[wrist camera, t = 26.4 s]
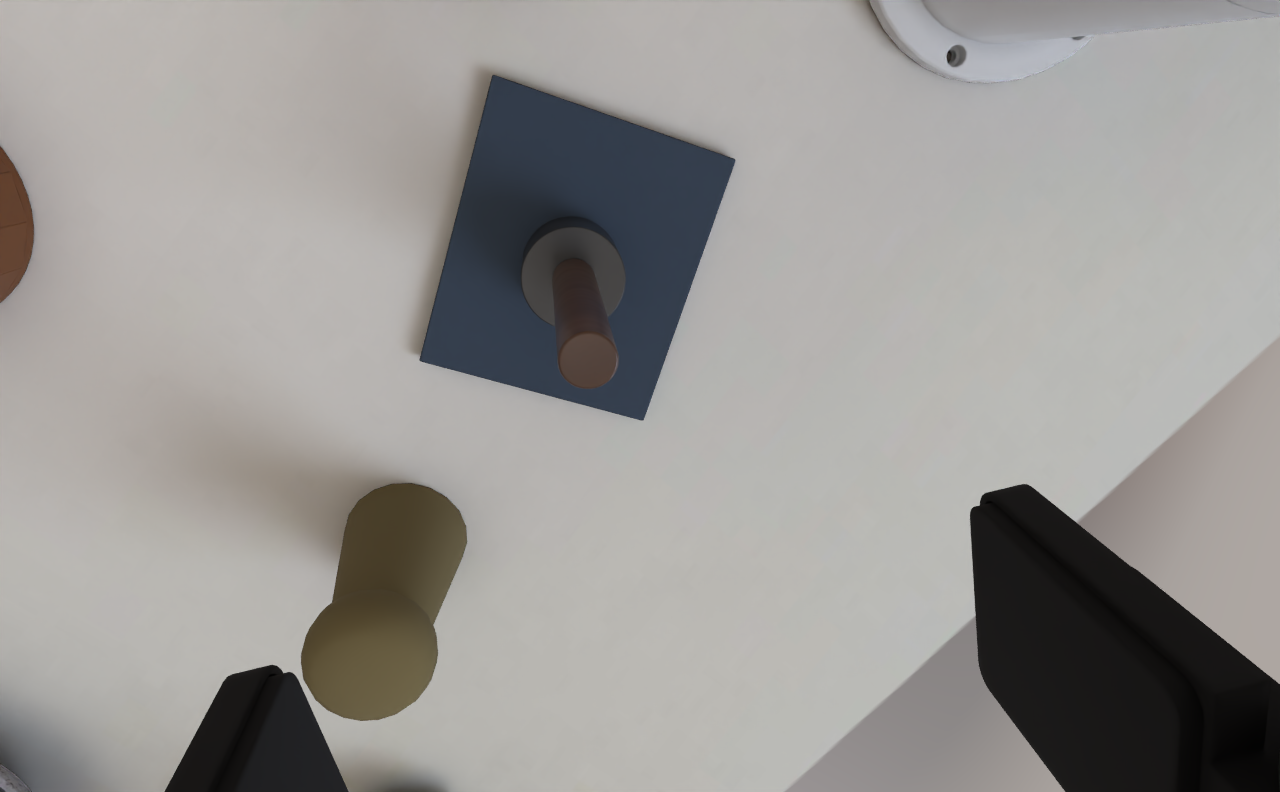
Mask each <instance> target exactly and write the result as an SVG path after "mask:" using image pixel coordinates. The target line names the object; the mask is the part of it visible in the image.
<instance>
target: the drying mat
mask: <svg viewBox="0 0 1280 792" xmlns="http://www.w3.org/2000/svg"><path fill="white" fill-rule="evenodd" d="M734 163H735V159H733V158H730V157H727V156H724V155H722V154H719V153H716V152H713V151H710V150H707V149H704V148H701V147H699V146H696V145H693V144H690V143H687V142H684V141H681V140H679V139H676V138H673V137H670V136H667V135H664V134H661V133H659V132H656V131H653V130H650V129H647V128H644V127H641V126H639V125H636V124H633V123H630V122H627V121H624V120H621V119H619V118H616V117H613V116H610V115H607V114H604V113H601V112H599V111H596V110H593V109H590V108H587V107H584V106H581V105H579V104H576V103H573V102H570V101H567V100H564V99H561V98H558V97H556V96H553V95H550V94H547V93H544V92H541V91H538V90H536V89H533V88H530V87H527V86H524V85H521V84H518V83H516V82H513V81H510V80H507V79H504V78H501V77H498V76H496V75H493V76H492V79H491V83H490V87H489V91H488V95H487V98H486V102H485V106H484V110H483V114H482V118H481V122H480V126H479V130H478V134H477V137H476V141H475V145H474V149H473V153H472V157H471V161H470V165H469V169H468V173H467V177H466V180H465V184H464V188H463V192H462V196H461V200H460V204H459V208H458V212H457V216H456V220H455V223H454V227H453V231H452V235H451V239H450V243H449V247H448V251H447V255H446V259H445V263H444V266H443V270H442V274H441V278H440V282H439V286H438V290H437V294H436V298H435V302H434V306H433V309H432V313H431V317H430V321H429V325H428V329H427V333H426V337H425V341H424V345H423V349H422V352H421V356H420V361H422V362H425V363H429V364H433V365H436V366H440V367H444V368H448V369H451V370H455V371H459V372H463V373H466V374H470V375H474V376H478V377H481V378H485V379H489V380H492V381H496V382H500V383H504V384H507V385H511V386H515V387H519V388H522V389H526V390H530V391H534V392H537V393H541V394H545V395H548V396H552V397H556V398H560V399H563V400H567V401H571V402H575V403H578V404H582V405H586V406H590V407H593V408H597V409H601V410H605V411H608V412H612V413H616V414H619V415H623V416H627V417H631V418H634V419H638V420H644V417H645V414H646V412H647V409H648V406H649V403H650V400H651V398H652V395H653V392H654V389H655V386H656V383H657V381H658V378H659V375H660V372H661V369H662V366H663V364H664V361H665V358H666V355H667V352H668V350H669V347H670V344H671V341H672V338H673V335H674V333H675V330H676V327H677V324H678V321H679V319H680V316H681V313H682V310H683V307H684V304H685V302H686V299H687V296H688V293H689V290H690V288H691V285H692V282H693V279H694V276H695V273H696V271H697V268H698V265H699V262H700V259H701V257H702V254H703V251H704V248H705V245H706V242H707V240H708V237H709V234H710V231H711V228H712V226H713V223H714V220H715V217H716V214H717V211H718V209H719V206H720V203H721V200H722V197H723V194H724V192H725V189H726V186H727V183H728V180H729V178H730V175H731V172H732V169H733V166H734ZM568 216H574V217H581V218H585V219H588V220H590V221H592V222H594V223H596V224H598V225H599V226H600V227H602V228H603V229H604V230H605V231H606V232H607V233H608V234H609V236H610V237H611V238H612V240H613V242H614V243H615V245H616V247H617V249H618V251H619V254H620V256H621V258H622V260H623V263H624V267H625V273H626V284H625V290H624V294H623V297H622V299H621V301H620V303H619V305H618V307H617V308H616V309H615V311H614V312H613V313H612V314H611V315H610V316H609V317H608V321H609V324H610V328H611V331H612V335H613V338H614V341H615V345H616V348H617V351H618V356H619V363H618V368H617V370H616V372H615V374H614V376H613V377H612V378H611V379H610V380H609V381H608V382H607V383H606V384H604V385H602V386H600V387H597V388H593V389H582V388H578V387H575V386H573V385H571V384H570V383H568V382H567V381H566V380H565V379H564V378H563V376H562V375H561V373H560V371H559V368H558V362H557V347H556V332H555V327H554V326H552V325H550V324H548V323H546V322H544V321H543V320H542V319H540V318H539V317H538V316H537V315H536V314H535V313H534V312H533V311H532V310H531V308H530V307H529V305H528V304H527V302H526V300H525V298H524V295H523V292H522V287H521V267H522V257H523V253H524V249H525V247H526V244H527V242H528V240H529V239H530V237H531V236H532V235H533V233H534V232H535V231H536V230H537V229H538V228H540V227H541V226H542V225H544V224H545V223H547V222H549V221H551V220H553V219H557V218H560V217H568Z"/></svg>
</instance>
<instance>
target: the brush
mask: <svg viewBox="0 0 1280 792" xmlns="http://www.w3.org/2000/svg"><path fill="white" fill-rule="evenodd" d="M625 284H626V273H625V267H624V263H623V260H622V258H621V256H620V254H619V251H618V249H617V247H616V245H615V243H614V242H613V240H612V238H611V237H610V236H609V234H608V233H607V232H606V231H605V230H604V229H603V228H602V227H600V226H599V225H598V224H596V223H594V222H592V221H590V220H588V219H585V218H581V217H574V216H568V217H560V218H557V219H553V220H551V221H549V222H547V223H545V224H544V225H542V226H541V227H540V228H538V229H537V230H536V231H535V232H534V233H533V235H532V236H531V237H530V239H529V240H528V242H527V244H526V247H525V249H524V253H523V257H522V267H521V287H522V292H523V295H524V298H525V300H526V302H527V304H528V305H529V307H530V308H531V310H532V311H533V312H534V313H535V314H536V315H537V316H538V317H539V318H540V319H542V320H543V321H544V322H546V323H548V324H550V325H552V326H554V327H555V332H556V347H557V362H558V368H559V371H560V373H561V375H562V376H563V378H564V379H565V380H566V381H567V382H568V383H570V384H571V385H573V386H575V387H578V388H582V389H593V388H597V387H600V386H602V385H604V384H606V383H607V382H608V381H609V380H610V379H611V378H612V377H613V376H614V374H615V372H616V370H617V368H618V363H619V356H618V351H617V348H616V345H615V341H614V338H613V335H612V331H611V328H610V324H609V321H608V317H609V316H610V315H611V314H612V313H613V312H614V311H615V309H616V308H617V307H618V305H619V303H620V301H621V299H622V297H623V294H624V290H625Z"/></svg>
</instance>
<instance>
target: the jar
mask: <svg viewBox="0 0 1280 792" xmlns="http://www.w3.org/2000/svg"><path fill="white" fill-rule="evenodd" d="M33 236H34V225H33V217H32V210H31V206H30V203H29V199H28V195H27V193H26V190H25V188H24V185H23V183H22V180H21V178H20V176H19V174H18V173H17V171H16V169H15V167H14V165H13V163H12V162H11V161H10V159H9V158H8V156H7V155H6V153H5V152H4V151H3V149H2V148H1V147H0V302H2V301H3V300H4V299H5V298H6V297H7V296H8V295H9V294H10V293H11V292H12V291H13V290H14V288H15V287H16V286H17V285H18V283H19V282H20V280H21V278H22V277H23V275H24V273H25V271H26V269H27V266H28V263H29V260H30V257H31V253H32V247H33Z"/></svg>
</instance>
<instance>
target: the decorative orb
mask: <svg viewBox="0 0 1280 792" xmlns="http://www.w3.org/2000/svg"><path fill="white" fill-rule="evenodd" d="M0 792H32V791H31V790H30V789H29V788H28V786H27V785H26V784H25V783H24V782H23V781H22V780H21V779H20V778H19V777H17V776H16V775H15V774H14V773H12V772H11V771H10V770H8V769H7V768H6V767H4V766H3V765H1V764H0Z"/></svg>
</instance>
